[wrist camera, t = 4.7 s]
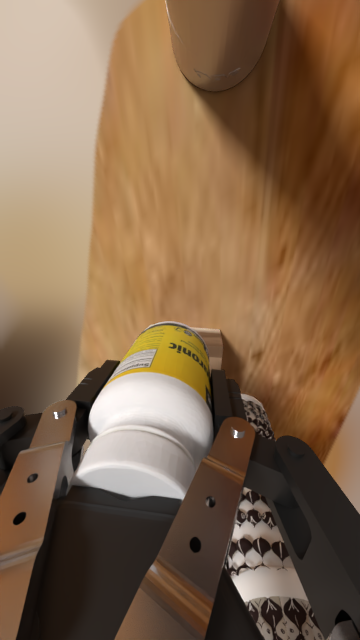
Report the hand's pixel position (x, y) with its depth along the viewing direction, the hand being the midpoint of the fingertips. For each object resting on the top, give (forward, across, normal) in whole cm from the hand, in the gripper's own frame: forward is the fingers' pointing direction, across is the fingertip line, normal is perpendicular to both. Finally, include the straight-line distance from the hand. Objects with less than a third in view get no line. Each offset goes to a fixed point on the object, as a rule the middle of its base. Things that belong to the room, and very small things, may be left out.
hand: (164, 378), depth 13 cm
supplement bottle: (+3, 0, 0) cm, 3 cm away
